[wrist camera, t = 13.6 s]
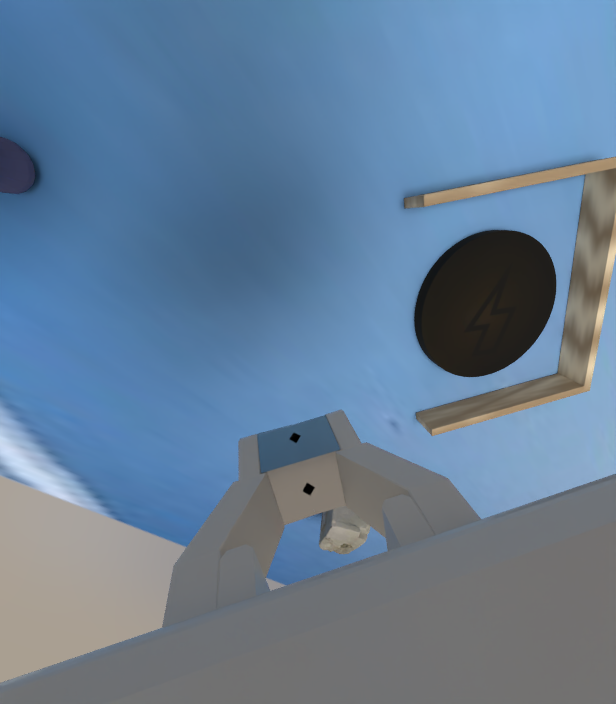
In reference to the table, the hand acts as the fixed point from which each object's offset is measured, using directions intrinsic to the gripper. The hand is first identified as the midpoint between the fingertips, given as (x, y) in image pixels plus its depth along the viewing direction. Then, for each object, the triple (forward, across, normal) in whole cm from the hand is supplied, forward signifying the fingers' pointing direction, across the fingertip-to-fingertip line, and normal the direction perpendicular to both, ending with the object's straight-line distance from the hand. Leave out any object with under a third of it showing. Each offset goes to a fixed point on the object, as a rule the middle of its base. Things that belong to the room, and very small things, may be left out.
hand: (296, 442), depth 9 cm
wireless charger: (+28, -26, +10) cm, 39 cm away
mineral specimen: (+27, -4, +32) cm, 42 cm away
